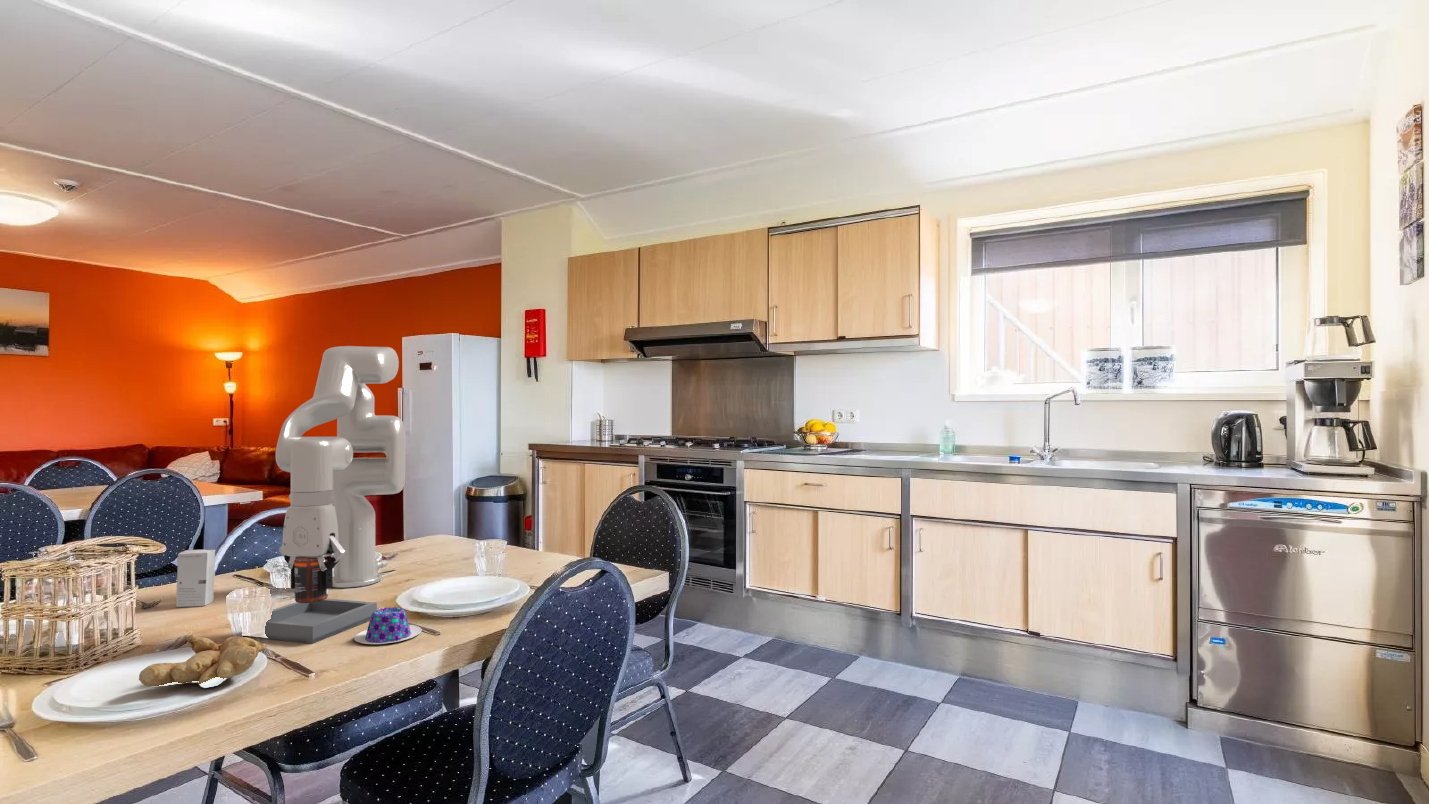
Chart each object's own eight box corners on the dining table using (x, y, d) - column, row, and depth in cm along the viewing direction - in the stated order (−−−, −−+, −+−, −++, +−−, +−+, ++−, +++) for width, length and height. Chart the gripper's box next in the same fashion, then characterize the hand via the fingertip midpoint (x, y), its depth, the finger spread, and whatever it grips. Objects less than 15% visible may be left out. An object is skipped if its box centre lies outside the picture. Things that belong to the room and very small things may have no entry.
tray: (311, 612, 156) (311, 597, 156) (376, 617, 152) (376, 602, 152) (241, 636, 140) (241, 619, 140) (312, 643, 135) (312, 626, 135)
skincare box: (175, 608, 160) (175, 553, 160) (185, 602, 164) (185, 549, 164) (206, 606, 161) (206, 552, 161) (215, 600, 165) (215, 548, 165)
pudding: (368, 652, 131) (368, 623, 131) (344, 638, 139) (344, 611, 139) (432, 637, 140) (432, 610, 140) (406, 624, 148) (406, 599, 148)
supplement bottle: (334, 596, 148) (334, 542, 148) (315, 604, 142) (315, 547, 142) (307, 596, 149) (307, 541, 149) (287, 603, 143) (287, 547, 143)
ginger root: (294, 652, 127) (286, 611, 125) (237, 710, 111) (227, 665, 110) (206, 655, 127) (197, 614, 125) (137, 714, 111) (125, 669, 110)
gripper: (261, 500, 144) (261, 590, 144) (332, 503, 140) (332, 595, 140) (292, 496, 152) (292, 581, 151) (360, 498, 147) (360, 586, 147)
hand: (311, 587), depth 146 cm, fingers closed on supplement bottle, 6 cm apart
